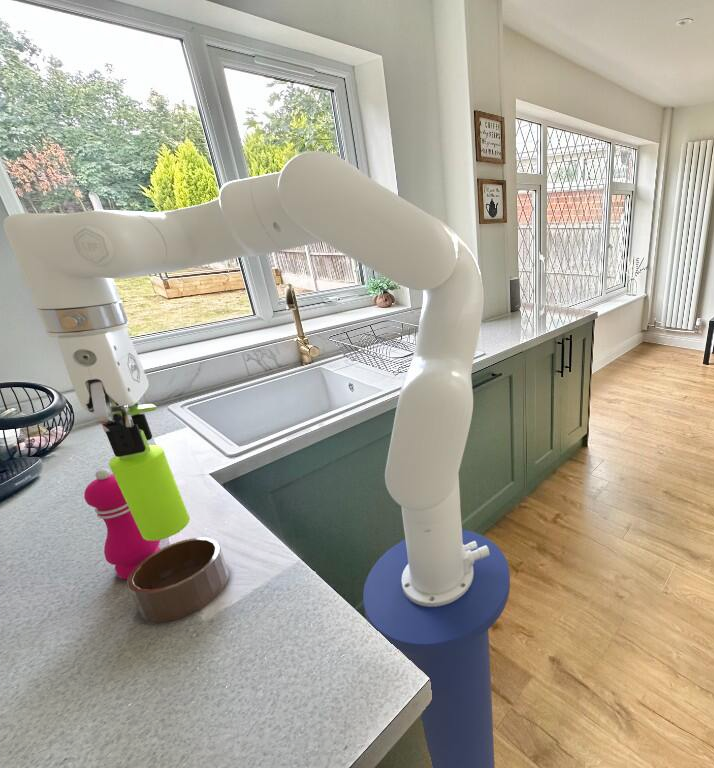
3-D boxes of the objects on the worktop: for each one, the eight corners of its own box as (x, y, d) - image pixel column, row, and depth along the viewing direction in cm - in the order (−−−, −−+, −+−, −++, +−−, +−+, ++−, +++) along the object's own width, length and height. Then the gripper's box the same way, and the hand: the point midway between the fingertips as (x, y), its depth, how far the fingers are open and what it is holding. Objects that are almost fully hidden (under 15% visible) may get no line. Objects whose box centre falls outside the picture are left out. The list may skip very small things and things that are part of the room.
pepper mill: (114, 564, 74) (71, 468, 67) (165, 545, 79) (130, 453, 72) (113, 589, 69) (67, 487, 62) (168, 566, 74) (130, 470, 67)
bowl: (230, 555, 76) (222, 528, 74) (225, 602, 66) (216, 573, 64) (149, 580, 71) (138, 553, 69) (131, 635, 61) (117, 605, 59)
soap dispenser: (204, 518, 66) (162, 407, 58) (152, 546, 61) (98, 427, 53) (186, 505, 69) (144, 397, 61) (135, 531, 63) (81, 416, 55)
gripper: (105, 327, 47) (156, 466, 53) (140, 306, 61) (177, 419, 67) (11, 336, 44) (78, 484, 50) (71, 312, 57) (117, 430, 64)
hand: (134, 446), depth 58 cm, fingers closed on soap dispenser, 3 cm apart
